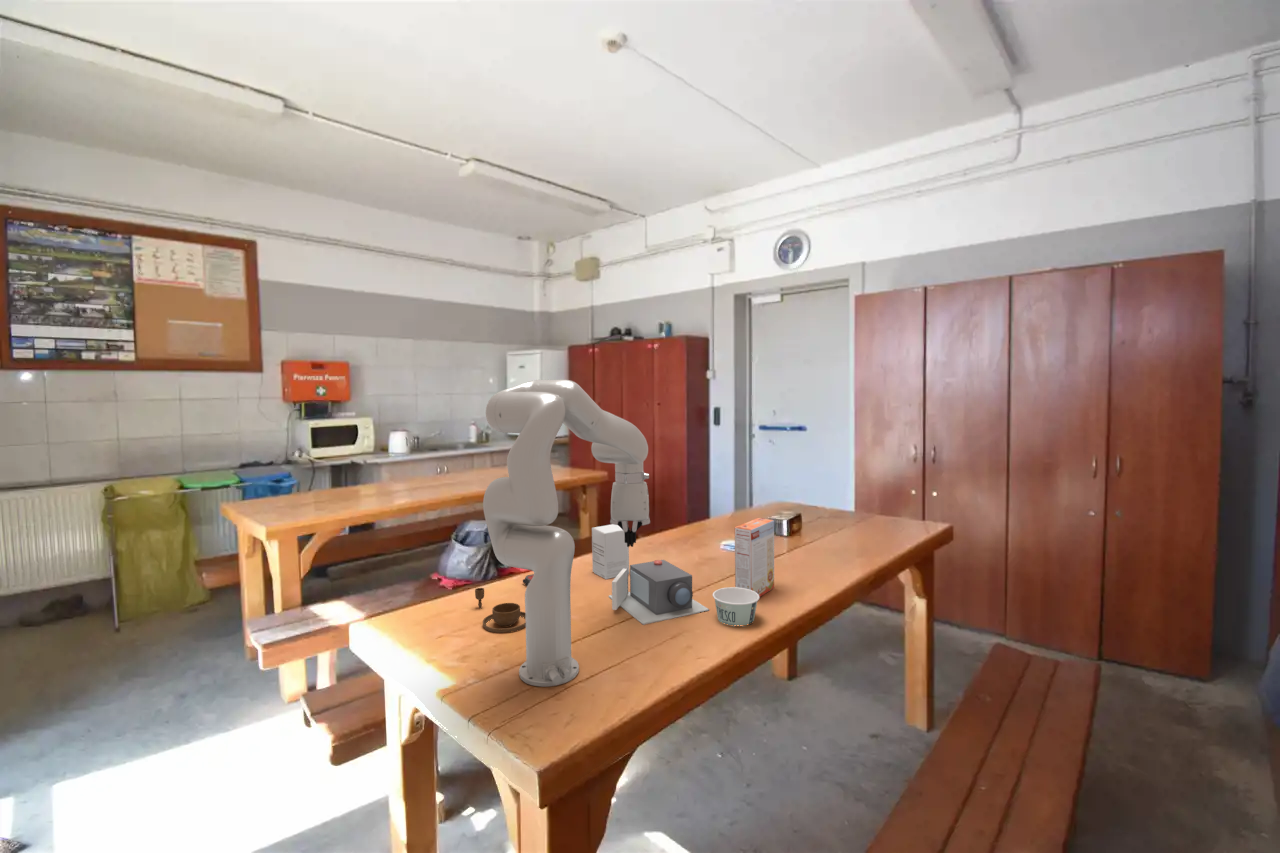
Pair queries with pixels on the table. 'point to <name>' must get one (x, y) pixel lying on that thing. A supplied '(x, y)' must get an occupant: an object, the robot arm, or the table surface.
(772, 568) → the cracker box
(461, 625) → the table surface
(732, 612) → the food container
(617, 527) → the supplement box
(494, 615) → the place setting
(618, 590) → the side door
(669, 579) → the camera box
